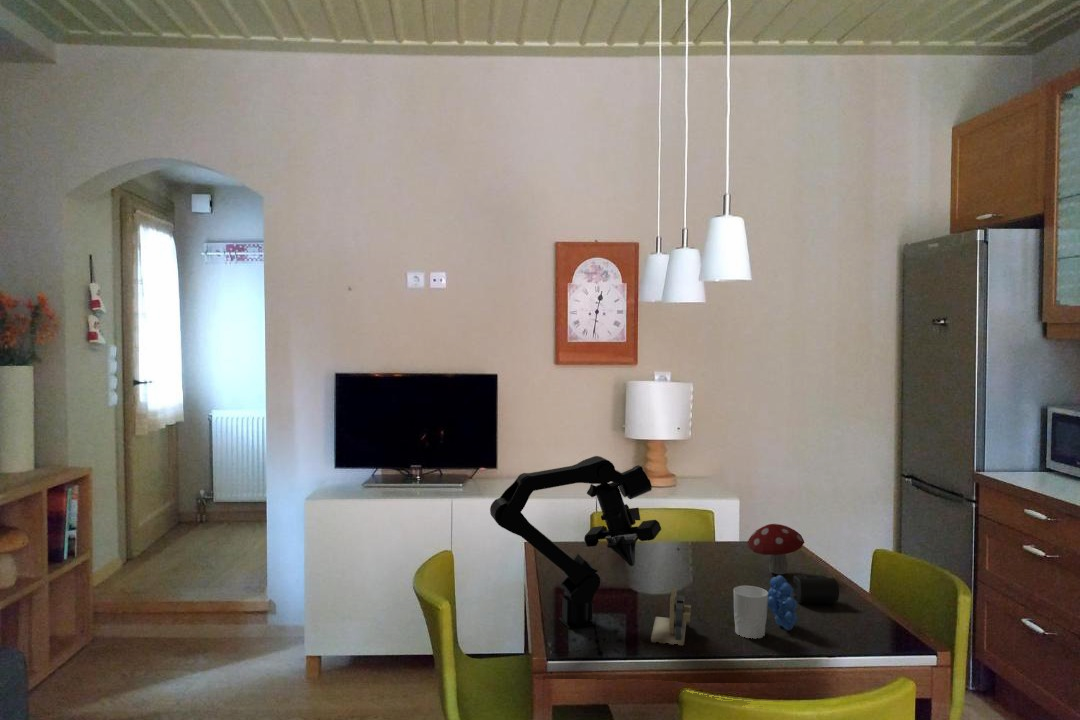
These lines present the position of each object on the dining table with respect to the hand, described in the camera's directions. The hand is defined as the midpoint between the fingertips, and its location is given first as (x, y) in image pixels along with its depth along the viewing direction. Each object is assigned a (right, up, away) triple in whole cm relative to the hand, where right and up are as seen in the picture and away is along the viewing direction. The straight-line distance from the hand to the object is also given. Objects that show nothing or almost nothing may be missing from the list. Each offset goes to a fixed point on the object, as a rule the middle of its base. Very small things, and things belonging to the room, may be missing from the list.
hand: (632, 565), depth 180 cm
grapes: (+35, -14, -3) cm, 37 cm away
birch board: (+8, -14, -8) cm, 17 cm away
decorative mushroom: (+46, -13, +36) cm, 60 cm away
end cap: (+50, -14, +13) cm, 53 cm away
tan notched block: (+10, -12, -8) cm, 18 cm away
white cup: (+27, -14, -7) cm, 31 cm away
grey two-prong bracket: (+10, -14, -8) cm, 19 cm away
